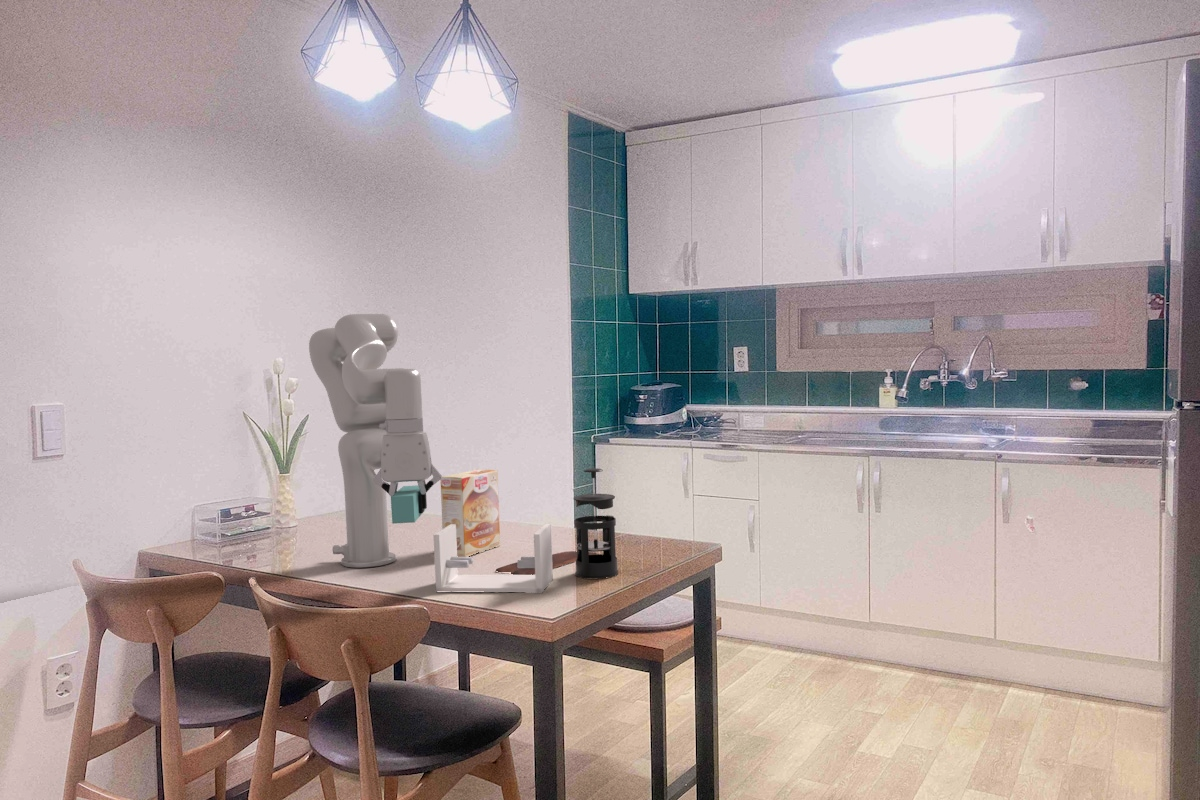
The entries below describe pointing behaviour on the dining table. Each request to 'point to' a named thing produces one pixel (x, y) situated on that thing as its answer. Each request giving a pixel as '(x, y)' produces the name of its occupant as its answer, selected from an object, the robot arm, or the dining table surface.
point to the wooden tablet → (557, 561)
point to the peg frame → (452, 581)
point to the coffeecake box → (472, 509)
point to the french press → (595, 563)
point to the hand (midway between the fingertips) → (409, 512)
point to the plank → (405, 505)
